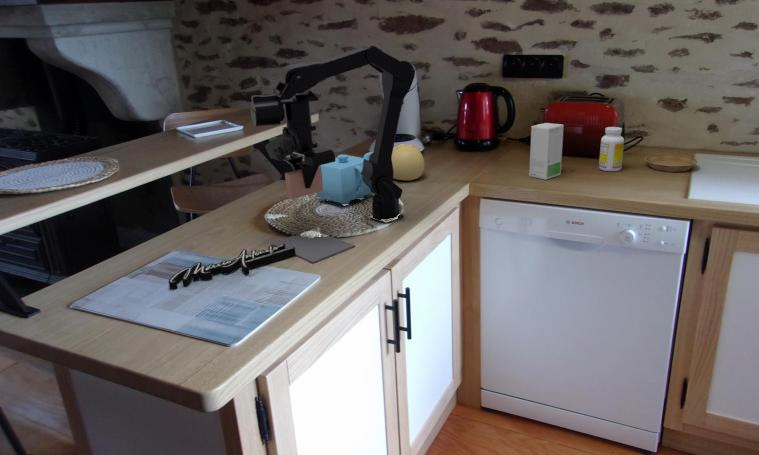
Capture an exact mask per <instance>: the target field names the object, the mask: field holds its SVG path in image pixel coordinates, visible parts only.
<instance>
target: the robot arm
mask: <svg viewBox="0 0 759 455" xmlns="http://www.w3.org/2000/svg"><path fill="white" fill-rule="evenodd" d="M364 66H365V67H366V66H370V67H371V68H372V69H374V70H375V71H377V72H378V73H380V74H381V86H382V88H381V89H382V92H383V100H382V105H381V110H380V116H379V121H378V126H377V131H376V136H375V142H374V146H373V151H372V152H373V153H372V154H371V156H370V157H369V160H367V159H364V160H363V169H362V172H361V173H360V174H361V175H362V179H363V182H364V184H365V185H366V186H368V187H369V188H370V190H371V192H372V194H374V195H373V196H372V202H371V208H372V209H371V210H372V215H373V218H375V219H378V220H381V219H389V218H394V217H396V216H397V215H398V214H400V215H399V216H398V219H397V220H399V219H403V218H404V217H405V216H404V214H403V213H400V199H401V197H402V194H403V189H402V188H401V187H400V186H399V185H397V184H396V183H394V178H393V174H394V170H393V165H392V152H393V148H394V146H395V141H396V137H397V132H398V127H399V126H398V125H399V122H400V117H401V111H402V106H403V101H404V99H405V98H406V96H407V95H408V93H409V91H410V90H411V88H412V86H413V82H414V79H415V75H416V69H415V68H414V66H413V65H412V63H410V62H409V61H407V60H402V59H397V58H395V57H393V56H392V55H389V53H386V52H384V51H383V50H381V49H379V47H377V46H375V45H370V44H369V45H368V44H365V45H362V46H361V47H359V48H356V49H352V50H349V51H347V52H343V53H341V54H337V55H335V56H334V55H333V56H332V57H331V56H330V57H328V58H324V59H322V60H321V59H320V60H318V61H314V62H313V61H312V62H300V63H293V64H287V65H285V66H283V68H282V69H281V71H280V73H279V81H278V83H277V85H276V86H275V88H274V90H273V92H272V93H271V94H264V95H257V94H255V95H251V96H250V97H251V104H250V116H251V121H252V124H253V126H254V128H259V127H267V126H276V125H281V122H283V121H284V120H286V126H283V127H282V130H281V131H282V135H281V134H280V135H279V136H277V137H275V138H274V139H273V140H271V141H270V142H268V143H266V144H265V145H264V147H265V150H266V152H267V153H268V155H269V158H270V159H272V160H276V161H283V162H286V164H289V165H290V166H291V169H292V171H296V170H300V169H302V173H303V178H304V184H305V187H306V189H308V188H310V187H311V185H312V182H313V179H314V177H315V174H316V172H317V170H318V168H319V166H320V165H324V164H328V163H331V162H335V161H336V159H335V158H336V152H335V151H333V149H331V148H327V147H318V143H317V142H314V136H313V135H314V134H313V131H316V130H317V127H316V126H317V125H315V124H313V123H312V113H311V102H317V101H319V99H320V98H319V97H318V96H317V95H316V94H314V93H313V91H312V90H311V89H312V88H313V87H316V86H317V85H318V84H319V83H321V82H323V81H324V80H326V79H330V78H332V77H335V76H338V75H340V74H344V73H348V72H350V71H352V70H356V69H359V68H362V67H364Z"/></svg>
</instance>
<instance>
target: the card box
mask: <svg viewBox="0 0 759 455" xmlns="http://www.w3.org/2000/svg"><path fill="white" fill-rule="evenodd" d="M284 178H285V180H284V181H285V186H286V187H285V188H286V196H287V197H286V198H287V199H289V200H295V199H299V198H302V197H306V196H309V195H312V194H317V192H320V191H323V182H322V170H321V166H319V168H318V170H317V172H316V174H315V177H314V179H313V182H312V185H311V187H310V188H308V189H306V187H305V184H304V178H303V173H302V169H300V170H296V171H293V170H292V171H289V172H285V173H284Z"/></svg>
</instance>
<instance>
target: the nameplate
mask: <svg viewBox="0 0 759 455" xmlns="http://www.w3.org/2000/svg"><path fill="white" fill-rule="evenodd" d="M250 251H251V252H249V253H247V252H248V251H247V249H246V248H244V249H241V252H240V253H239V255H238V256H237V257H236V258H233V259H230V260H229V259H228V260H221V262H217V263H209V264H208V265H202V262H201V261H200V262H195V263H194V264H193V265H191V266H190V267H186V268H185V267H184V268H183V269H181V270H179V271H177V272H176V273H175V274H173V275H172V276H171V277H170V278H169V280H168V286H169V289H170V290H171V289H175V290H177V289H178V284H179V283H180V282H182V284H183V287H185V288H186V287H188V286H190V284H191V283H192V280H193V281H194V282H197V281H199V280H202V281H210V280H212V279H213V276H215V275H217V276H218V275H219V274H223V275H228V274H232V273H234V272H236V271H237V270H238V269H239V268H241V271H242V273H243V274H245V275H249V274H250V269H254V268H257V267H260V266H263V265H266V264H271V263H273V262H276V261H279V260H283V259H285V258H289V257H293V256H295V254H296V253H295V247H289V248H286V249H285V244H281V245H279V246H277V247H275V246H273V245H269V246H268V247H267V249H260V250H257V249H252V250H250ZM181 280H182V281H181ZM177 283H178V284H177Z"/></svg>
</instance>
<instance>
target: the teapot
mask: <svg viewBox="0 0 759 455" xmlns="http://www.w3.org/2000/svg"><path fill="white" fill-rule="evenodd" d="M373 152H374V151H370V152H367V153H364V155H363V158H362V157H358V156H353V155H349V154H338V155H337V156H336V157H335V159H336V161H335V162H331V163H328V164H324V165H320V166H321V170H322V182H323V191H320V192H317V193H316V197H317V198H321V199H325V201H326V200H328V201H333V202H335V203H340V205H341V204H349V203H350V204H351V201H353V200H356V199H357V198H364V197H365V196H367V195H369V194H373V192H371V190H370V188H369V187H368V186H366V185H365V184H364V182H363V179H362V175H361V174H360V173H361V172H362V169H363V160H364V159H367V160H369V159H370V157H371V156H372V154H373Z"/></svg>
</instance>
